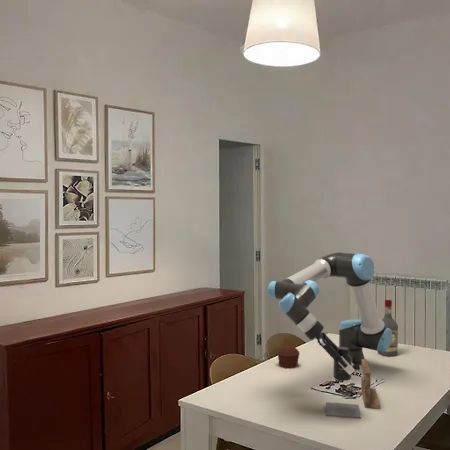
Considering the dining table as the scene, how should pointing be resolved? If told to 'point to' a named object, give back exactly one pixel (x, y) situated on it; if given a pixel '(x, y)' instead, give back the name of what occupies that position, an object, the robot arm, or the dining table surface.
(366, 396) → the board
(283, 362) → the muffin
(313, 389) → the dining table surface
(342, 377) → the supplement bottle
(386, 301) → the liquor
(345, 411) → the rubber mat
